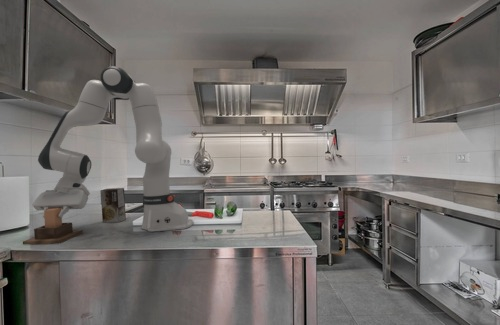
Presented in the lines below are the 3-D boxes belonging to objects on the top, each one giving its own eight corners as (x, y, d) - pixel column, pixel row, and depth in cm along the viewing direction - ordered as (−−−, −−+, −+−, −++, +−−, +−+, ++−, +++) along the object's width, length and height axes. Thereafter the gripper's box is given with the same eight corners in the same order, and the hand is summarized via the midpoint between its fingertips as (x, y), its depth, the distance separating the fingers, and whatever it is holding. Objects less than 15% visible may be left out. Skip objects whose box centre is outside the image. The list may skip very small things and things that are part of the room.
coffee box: (126, 219, 142) (124, 187, 142) (119, 222, 136) (117, 189, 135) (109, 219, 143) (107, 188, 142) (101, 222, 137) (99, 189, 136)
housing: (82, 232, 118) (81, 220, 118) (59, 243, 104) (58, 229, 104) (50, 234, 119) (49, 222, 118) (22, 244, 105) (21, 231, 104)
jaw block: (62, 230, 113) (61, 208, 113) (55, 232, 109) (54, 210, 109) (52, 230, 113) (51, 208, 113) (45, 233, 109) (44, 210, 109)
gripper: (39, 186, 118) (21, 214, 108) (86, 184, 118) (73, 212, 108) (47, 195, 123) (31, 222, 113) (93, 193, 122) (81, 220, 113)
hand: (52, 217), depth 111 cm, fingers closed on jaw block, 4 cm apart
